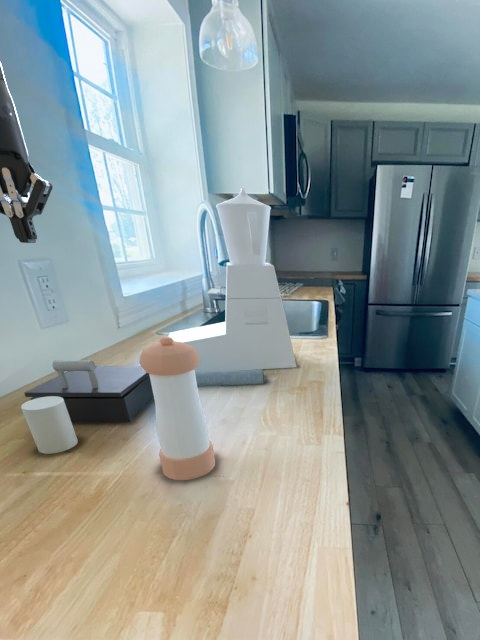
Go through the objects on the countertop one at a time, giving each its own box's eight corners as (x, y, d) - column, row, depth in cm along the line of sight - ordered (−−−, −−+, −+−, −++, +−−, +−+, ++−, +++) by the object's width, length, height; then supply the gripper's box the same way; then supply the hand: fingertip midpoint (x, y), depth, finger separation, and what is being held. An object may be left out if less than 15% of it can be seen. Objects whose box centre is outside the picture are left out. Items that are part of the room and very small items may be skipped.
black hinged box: (131, 425, 65) (124, 398, 63) (40, 426, 64) (30, 398, 62) (161, 393, 79) (156, 369, 77) (87, 393, 78) (79, 369, 76)
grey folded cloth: (160, 391, 80) (157, 376, 79) (166, 381, 86) (163, 367, 84) (264, 386, 84) (263, 372, 82) (263, 376, 90) (262, 363, 88)
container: (32, 458, 55) (11, 409, 52) (52, 441, 60) (35, 396, 56) (67, 457, 56) (50, 409, 52) (85, 441, 60) (70, 396, 56)
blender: (161, 378, 88) (121, 176, 69) (170, 356, 103) (140, 187, 85) (297, 370, 95) (294, 186, 76) (286, 351, 111) (281, 195, 92)
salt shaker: (188, 488, 49) (161, 348, 40) (152, 473, 52) (119, 339, 43) (226, 463, 55) (209, 335, 46) (191, 451, 58) (169, 328, 49)
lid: (121, 396, 62) (113, 364, 59) (25, 397, 61) (13, 364, 59) (156, 369, 77) (151, 342, 74) (79, 369, 76) (71, 342, 73)
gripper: (48, 125, 60) (78, 243, 68) (-36, 122, 60) (4, 241, 68) (16, 111, 54) (53, 244, 62) (-79, 107, 53) (-28, 241, 61)
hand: (28, 242), depth 65 cm, fingers closed
